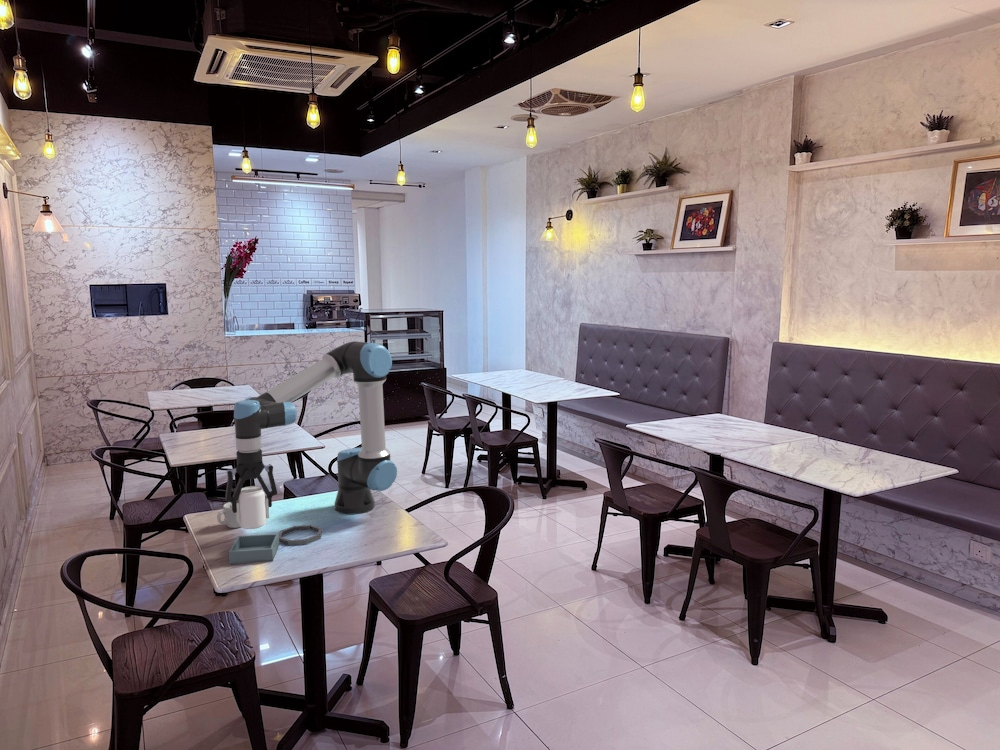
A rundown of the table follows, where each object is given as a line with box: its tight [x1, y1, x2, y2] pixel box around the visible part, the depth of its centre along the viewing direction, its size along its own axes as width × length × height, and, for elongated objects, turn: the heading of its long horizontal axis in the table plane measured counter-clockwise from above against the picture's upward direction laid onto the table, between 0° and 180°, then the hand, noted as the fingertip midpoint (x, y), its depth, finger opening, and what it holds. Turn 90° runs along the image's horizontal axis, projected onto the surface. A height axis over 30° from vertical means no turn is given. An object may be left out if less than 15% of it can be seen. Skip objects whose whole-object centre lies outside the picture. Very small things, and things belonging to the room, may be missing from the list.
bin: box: [228, 533, 280, 565], centre depth 214 cm, size 13×13×4 cm
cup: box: [216, 502, 241, 529], centre depth 237 cm, size 11×8×8 cm
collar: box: [278, 524, 323, 546], centre depth 228 cm, size 14×14×2 cm
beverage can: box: [237, 485, 267, 530], centre depth 212 cm, size 8×8×12 cm
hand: (252, 519), depth 212 cm, fingers closed on beverage can, 8 cm apart
